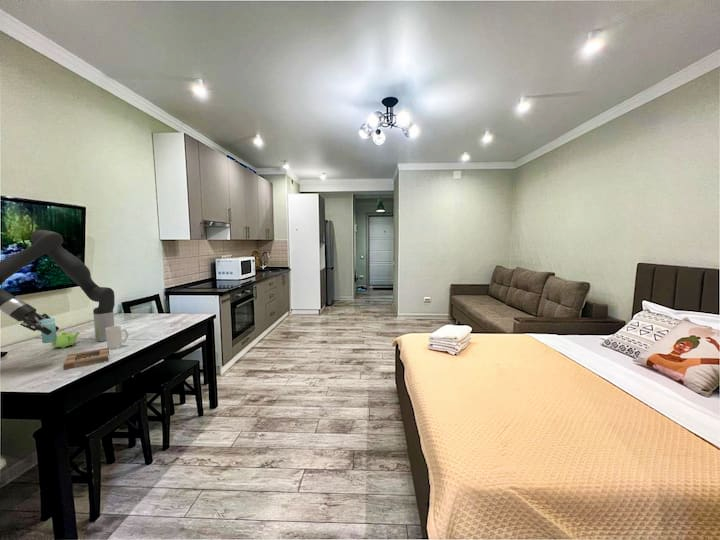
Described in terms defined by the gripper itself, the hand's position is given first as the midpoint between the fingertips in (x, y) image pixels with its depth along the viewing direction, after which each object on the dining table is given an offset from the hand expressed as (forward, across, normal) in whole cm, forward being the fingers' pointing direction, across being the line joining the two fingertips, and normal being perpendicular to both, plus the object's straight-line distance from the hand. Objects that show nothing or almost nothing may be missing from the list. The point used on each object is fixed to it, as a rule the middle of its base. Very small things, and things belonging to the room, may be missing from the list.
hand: (53, 331), depth 138 cm
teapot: (+4, +31, +22) cm, 38 cm away
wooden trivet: (+20, +3, +4) cm, 21 cm away
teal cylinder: (+2, 0, +5) cm, 5 cm away
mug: (+25, +20, 0) cm, 32 cm away
